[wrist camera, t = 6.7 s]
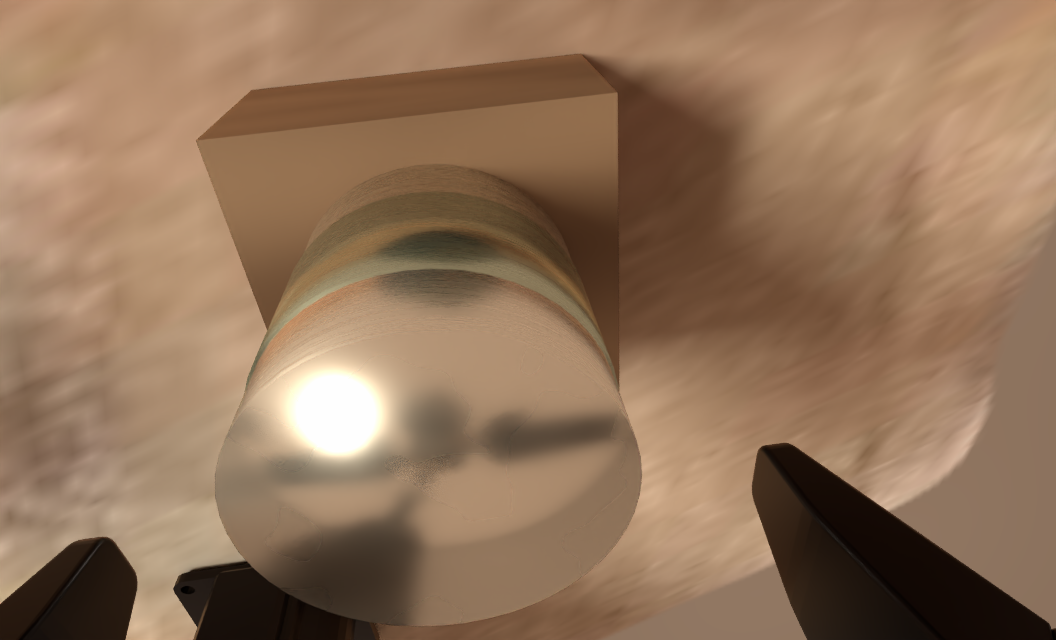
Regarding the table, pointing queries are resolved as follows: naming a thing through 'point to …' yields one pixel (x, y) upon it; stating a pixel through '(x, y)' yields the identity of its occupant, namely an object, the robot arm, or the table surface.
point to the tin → (430, 411)
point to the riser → (423, 159)
